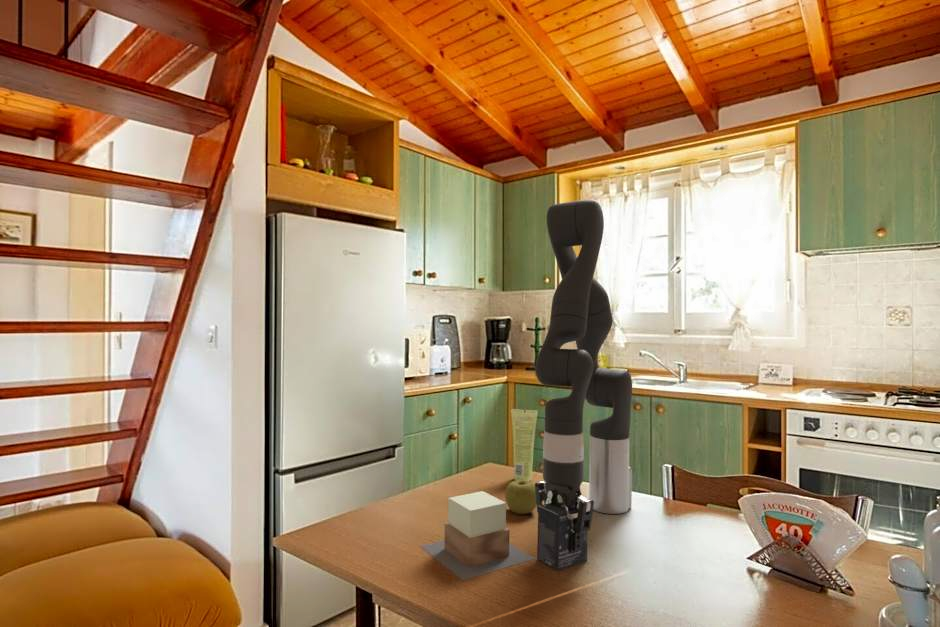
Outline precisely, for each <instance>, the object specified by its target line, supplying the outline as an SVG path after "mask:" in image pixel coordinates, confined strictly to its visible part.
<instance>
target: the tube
mask: <svg viewBox="0 0 940 627" xmlns="http://www.w3.org/2000/svg"><path fill="white" fill-rule="evenodd" d="M538 413H539V411H538V409H537V410H536V409H518V408H517V409H515V408H511V409H510V416H511V424H512V440H513V442H512V444H513V479H514V481H516V480H527V481H530V482H531V481H532V475H533V462H534V461H533V459H534V448H535V445H534V444H535V437H536V436H535V435H536V434H535V433H536V427H537V419H538Z"/></svg>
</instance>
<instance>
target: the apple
mask: <svg viewBox="0 0 940 627" xmlns="http://www.w3.org/2000/svg"><path fill="white" fill-rule="evenodd" d="M504 494H505V501H506V502H505V503H506V506H508V508H509V509H510V511H511V512H513V513H514V514H515V515H516V514H517V515H526V514H529V513H532V512H533V511H534V510H535V509H536V508H537V503H536V492H535V483H533V482H532V481H531V480H530V481H527V480H513V481H512V482H510V483H509V484H508V485H507V486H506V489H505V493H504Z"/></svg>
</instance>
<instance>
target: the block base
mask: <svg viewBox="0 0 940 627" xmlns="http://www.w3.org/2000/svg"><path fill="white" fill-rule="evenodd" d="M444 540H445V546H444V549H445V550H447V551H448V552H449V553H451V554H452V555H453V556H455V557H456V558H457V559H459V560H460V561H461V562H463V563H464V564H465V565H467V566H468V567H472V566H475V565H479V564H482V563H486V562H489V561H493V560H496V559H500V558H504V557H507V556H509V543H510V529H509V528H507V527H506V529H505V530H501V531H497V532H493V533H489V534H485V535H481V536H477V537H473V538H469V537H468V536H466V535H465V534H463V533H462V532H460V531H459V530H457V529H456V528H454V527H453V526H451V525H450V524H448V522H445V523H444Z"/></svg>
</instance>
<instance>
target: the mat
mask: <svg viewBox="0 0 940 627" xmlns="http://www.w3.org/2000/svg"><path fill="white" fill-rule="evenodd" d="M444 546H445V539H443V540H440V541H435V542H433V543H428V544H423V545H420V548H421V549H423V550H424V551H425V552H426V553H427V554H429V555H430V556H431V557H433V558H434V559H435V560H436V561H437V562H439V563H440V564H442V565H443V566H444V567H445V568H447V570H449V571H450V572H451V573H452V574H454V575H455V576H456V577H458V578H459V579H460V580H461V581H466V580H468V579H473V578H475V577H476V578H477V577H480V576H482V575H486V574H489V573H490V574H491V573H493V572H496V571H501V570H503V569H506V568H509V567H513V566H517V565H520V564H523V563H526V562H531V561H534V560H536V558H535V557H533V556H532V555H530V554H528V553H526V551H523V550H522V549H520V548H518V547H517V546H515V544H512V543H510V542H509V556H507V557H504V558H500V559H496V560H493V561H489V562H486V563H482V564H479V565H475V566H472V567H468V566H467V565H465V564H464V563H463V562H461V561H460V560H459V559H457V558H456V557H455V556H453V555H452V554H451V553H449V552H448V551H447V550H445V549H444Z"/></svg>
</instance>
